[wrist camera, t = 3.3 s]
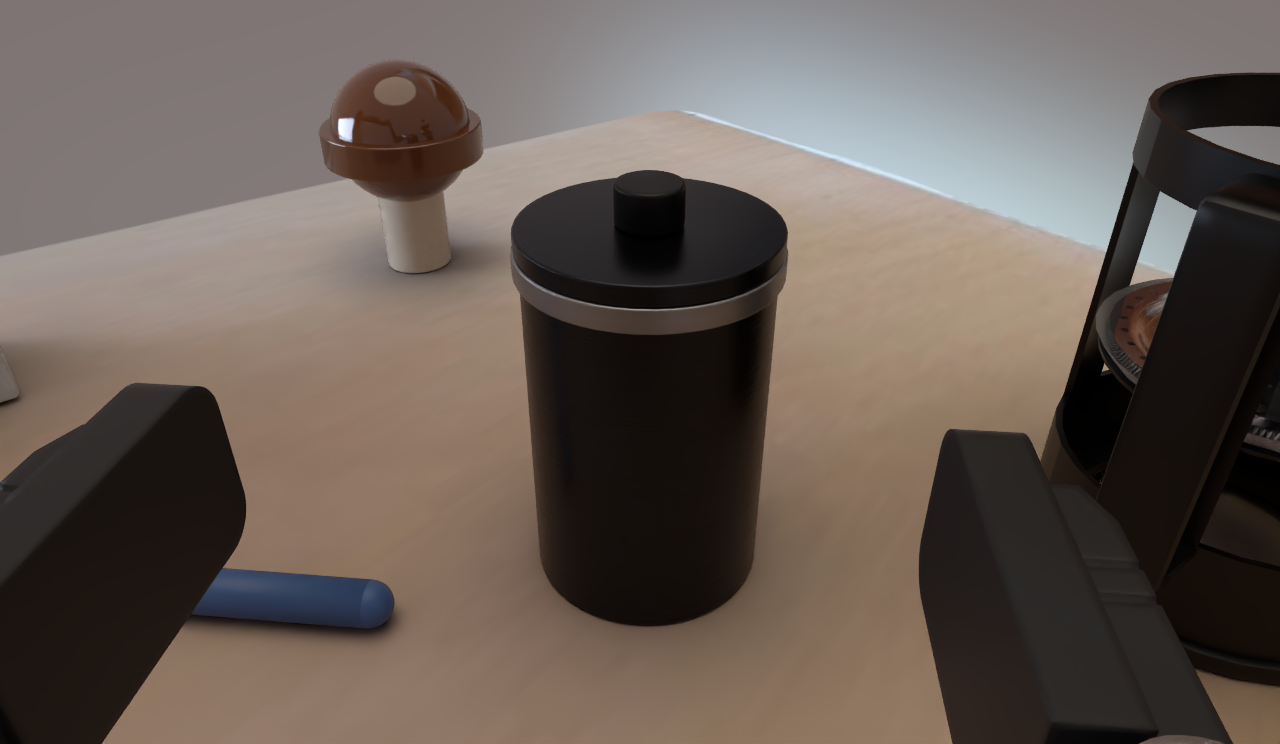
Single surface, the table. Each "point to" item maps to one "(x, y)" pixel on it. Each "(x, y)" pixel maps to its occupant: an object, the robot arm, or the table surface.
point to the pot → (648, 387)
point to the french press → (1188, 373)
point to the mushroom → (403, 153)
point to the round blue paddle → (297, 598)
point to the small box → (7, 381)
